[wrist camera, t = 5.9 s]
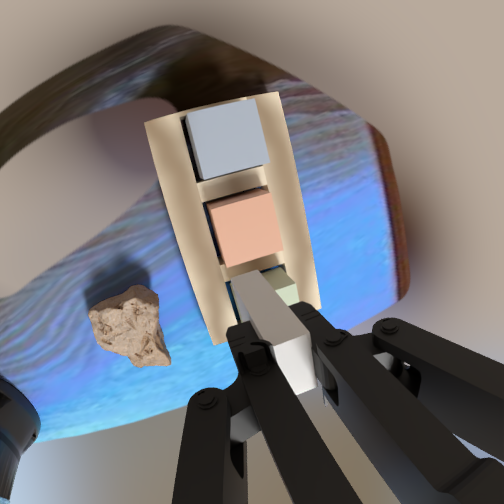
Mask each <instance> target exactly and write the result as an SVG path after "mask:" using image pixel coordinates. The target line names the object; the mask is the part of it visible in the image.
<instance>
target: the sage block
mask: <svg viewBox="0 0 504 504" xmlns="http://www.w3.org/2000/svg"><path fill="white" fill-rule="evenodd" d="M261 274H262V275H263V277H264V278H265V279H266V280H267V281H268V283H269V284H270V285H271V286H272V288H273V289H274V290H275V291H276V292H277V294H278V295H279V296H280V297H281V298H282V300H283V301H284V302H285V303H286V304H287V306H290V305H292V304H295V303H298V302H299V297H298V291H297V286H296V283H295V282H294V281H293V280H292V279H291V278H290V277H289V276H288V275H287V274H286V273H285V272H284V271H283V269H282V268H281V267H278V268H275V269H272V270H269V271H266V272H263V273H261ZM230 286H231V290H232V293H233V296H234V300H235V303H236V306H237V310H238V313H239V316H240V320H241V323H243V321H242V317H241V314H240V310H239V307H238V304H237V300H236V297H235V293H234V290H233V286H232V283H230Z"/></svg>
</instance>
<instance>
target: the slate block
mask: <svg viewBox="0 0 504 504" xmlns="http://www.w3.org/2000/svg"><path fill="white" fill-rule="evenodd" d="M185 122H186V126H187V130H188V134H189V138H190V141H191V145H192V149H193V153H194V157H195V161H196V165H197V168H198V172H199V176H200V178H202V179H203V180H205V179H209V178H212V177H216V176H220V175H223V174H227V173H231V172H235V171H239V170H242V169H246V168H250V167H254V166H258V165H262V164H267V163H270V159H269V155H268V151H267V146H266V142H265V138H264V134H263V130H262V126H261V122H260V117H259V113H258V109H257V105H256V101H255V98H253V99H248V100H243V101H238V102H233V103H228V104H223V105H219V106H214V107H210V108H206V109H202V110H197V111H194V112H190V113H187V115H186V120H185Z"/></svg>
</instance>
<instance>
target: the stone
mask: <svg viewBox="0 0 504 504" xmlns="http://www.w3.org/2000/svg"><path fill="white" fill-rule="evenodd" d="M158 309H159V298H158V294H156V293H155V292H154V291H152V290H149V289H148V288H146V287H145V286H143V285H138V284H137V285H134V286H131V287H129V289H128V290H127V291H125V292H124V293H122V294H119V295H117V296H114V297H110V298H107V299H106V300H103V301H101V302H99V303H98V304H97V305H95V306H93V307H92V308H91V309H89V313H88V316H89V318H90V320H91V324H92V328H93V332H94V336H95V338H96V340H97V343H98V344H99V345H100V346H101V347H102V348H103V349H104V350H106V351H112V352H114V353H118V354H120V355H123V356H128V358H129V359H130V361H131V362H132V364H133V365H134V366H136V367H140V368H142V367H143V366H155V365H158V366H168V365H171V357H170V355H169V352H168V350H167V349H166V345H165V343H164V335H163V332H162V329H161V327H160V324H159V320H158V319H159V312H158Z"/></svg>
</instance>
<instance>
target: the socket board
mask: <svg viewBox="0 0 504 504" xmlns="http://www.w3.org/2000/svg"><path fill="white" fill-rule="evenodd" d="M253 98H255V101H256V105H257V109H258V113H259V117H260V122H261V126H262V130H263V134H264V138H265V142H266V146H267V151H268V155H269V159H270V163H267V164H262V165H258V166H254V167H250V168H246V169H242V170H239V171H235V172H231V173H227V174H223V175H220V176H216V177H212V178H209V179H205V180H199V181H196V179H195V176H194V172H193V168H192V164H191V161H190V157H189V153H188V149H187V145H186V141H185V137H184V133H183V130H182V126H181V122H180V121H181V120H185V119H186V115H187V113H190V112H194V111H197V110H202V109H206V108H210V107H214V106H219V105H223V104H228V103H233V102H238V101H243V100H248V99H253ZM144 124H145V129H146V132H147V137H148V140H149V144H150V148H151V152H152V156H153V160H154V163H155V167H156V171H157V174H158V178H159V182H160V185H161V189H162V192H163V196H164V199H165V203H166V206H167V209H168V213H169V216H170V219H171V223H172V226H173V229H174V232H175V235H176V239H177V242H178V245H179V248H180V251H181V254H182V257H183V260H184V263H185V266H186V269H187V272H188V275H189V278H190V281H191V284H192V287H193V290H194V293H195V296H196V298H197V301H198V304H199V307H200V310H201V312H202V315H203V318H204V321H205V323H206V326H207V329H208V331H209V334H210V337H211V339H212V342H213V345H217V344H221V343H224V342H227V338H226V332H227V329H228V327H231V326H234V325H237V324H240V323H241V320H239V321H237V320H236V317H235V314H234V311H233V308H232V304H231V301H230V298H229V295H228V291H227V288H226V285H225V282H227V281H230V280H231V279H230V278H232V277H235V276H238V275H242V274H245V273H248V272H251V271H254V270H257V269H258V271H261V270H265V269H268V268H271V267H274V266H277V265H279V267H281V268H282V269H283V271H284V272H285V273H286V274H287V275H288V276H289V277H290V278H291V279H292V280H293V281H294V282H295V283H296V286H297V291H298V297H299V302H301V301H304V302H306V303H309V304H311V305H312V306H313V307H314V308H315V309H316V310H318V309H321V303H320V296H319V290H318V283H317V277H316V271H315V265H314V259H313V253H312V247H311V242H310V236H309V230H308V225H307V220H306V214H305V209H304V204H303V199H302V194H301V189H300V184H299V179H298V175H297V170H296V165H295V161H294V156H293V152H292V147H291V143H290V138H289V134H288V130H287V126H286V121H285V117H284V113H283V109H282V105H281V101H280V97H279V93H278V92H272V93H265V94H259V95H254V96H248V97H243V98H238V99H233V100H228V101H223V102H219V103H214V104H210V105H205V106H201V107H197V108H193V109H189V110H185V111H182V112H178V113H174V114H171V115H167V116H164V117H160V118H157V119H154V120H150V121H148V122H145V123H144ZM259 186H261V189H262V190H265V191H268V192H271V194H272V199H273V203H274V208H275V212H276V217H277V221H278V226H279V231H280V235H281V240H282V245H283V249H284V250H282V251H279V252H276V253H273V254H270V255H267V256H263V257H260V258H257V259H254V260H251V261H247V262H244V263H241V264H238V265H235V266H231V267H228V268H227V267H226V265H225V263H224V261H223V259H222V257H221V256H219V257H217V254H216V251H215V247H214V244H213V240H212V237H211V234H210V230H209V226H208V223H207V219H206V216H205V212H204V209H203V205H202V202H206V201H209V200H212V199H216V198H219V197H223V196H226V195H230V194H234V193H237V192H241V191H245V190H248V189H252V188H256V187H259Z"/></svg>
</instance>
